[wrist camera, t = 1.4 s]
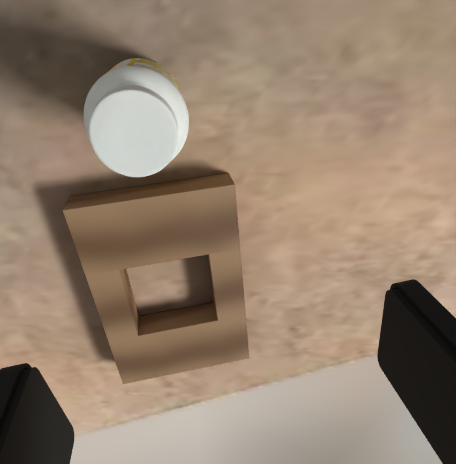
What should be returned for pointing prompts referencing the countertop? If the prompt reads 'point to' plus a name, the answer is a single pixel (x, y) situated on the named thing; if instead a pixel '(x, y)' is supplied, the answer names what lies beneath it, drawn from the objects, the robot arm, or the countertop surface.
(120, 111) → the supplement bottle
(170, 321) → the frame
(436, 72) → the countertop surface
